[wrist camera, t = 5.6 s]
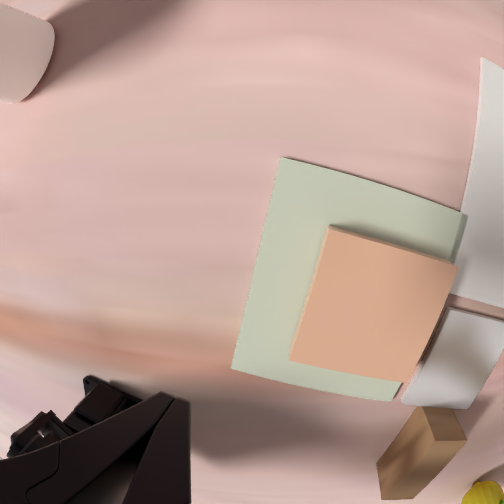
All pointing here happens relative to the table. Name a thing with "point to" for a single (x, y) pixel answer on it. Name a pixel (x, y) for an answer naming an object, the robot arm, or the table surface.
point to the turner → (440, 401)
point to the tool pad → (484, 199)
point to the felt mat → (305, 257)
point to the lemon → (484, 494)
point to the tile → (370, 306)
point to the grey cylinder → (22, 52)
